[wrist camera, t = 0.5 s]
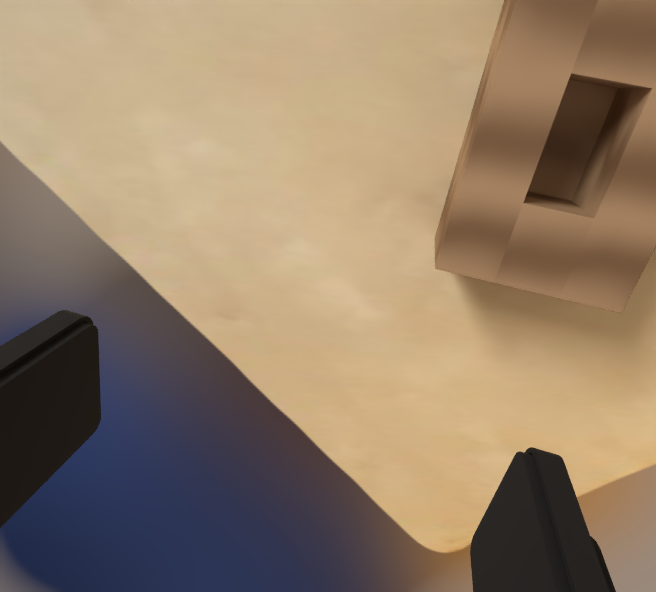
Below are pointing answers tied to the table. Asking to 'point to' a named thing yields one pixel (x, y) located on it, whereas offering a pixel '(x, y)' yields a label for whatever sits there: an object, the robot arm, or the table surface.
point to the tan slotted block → (560, 154)
